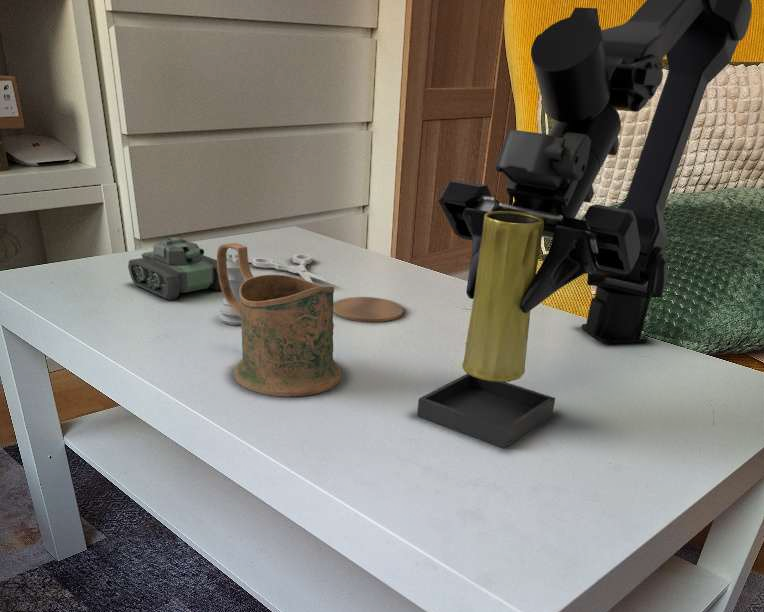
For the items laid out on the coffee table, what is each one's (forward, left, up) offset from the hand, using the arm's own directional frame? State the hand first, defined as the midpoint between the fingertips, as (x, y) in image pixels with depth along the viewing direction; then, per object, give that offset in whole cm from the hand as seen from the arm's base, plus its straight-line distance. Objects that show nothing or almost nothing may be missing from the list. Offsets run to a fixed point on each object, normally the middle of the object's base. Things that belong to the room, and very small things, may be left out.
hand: (495, 303), depth 67 cm
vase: (-1, -1, -7) cm, 7 cm away
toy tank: (+26, -48, -12) cm, 56 cm away
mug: (+18, -17, -12) cm, 27 cm away
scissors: (+8, -53, -12) cm, 55 cm away
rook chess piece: (+20, -33, -12) cm, 40 cm away
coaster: (+2, -35, -12) cm, 37 cm away
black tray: (-1, -1, -12) cm, 12 cm away
